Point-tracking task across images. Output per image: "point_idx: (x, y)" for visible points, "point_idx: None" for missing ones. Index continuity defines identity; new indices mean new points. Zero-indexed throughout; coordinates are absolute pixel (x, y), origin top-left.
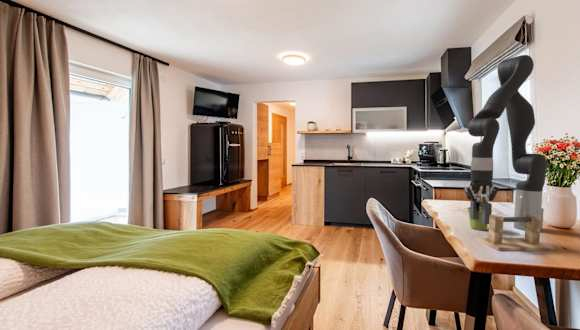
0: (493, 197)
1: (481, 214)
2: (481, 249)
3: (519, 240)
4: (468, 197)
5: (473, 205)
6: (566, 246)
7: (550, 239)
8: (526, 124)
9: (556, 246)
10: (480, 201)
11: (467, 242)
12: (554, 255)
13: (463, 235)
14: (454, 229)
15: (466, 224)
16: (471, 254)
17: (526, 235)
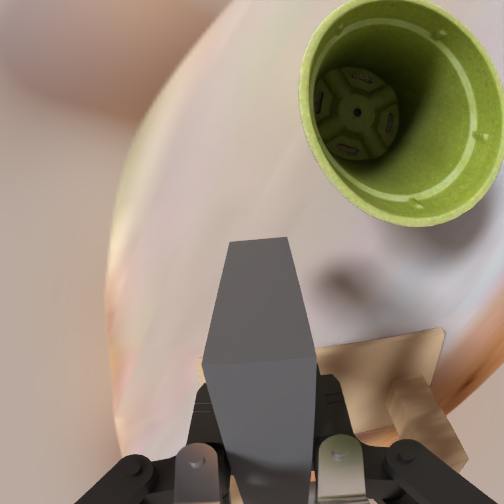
0: (410, 502)
1: (375, 199)
2: (168, 431)
3: (378, 376)
4: (109, 486)
5: (192, 418)
6: (490, 364)
7: None
8: None
9: (464, 373)
10: (273, 461)
11: (144, 378)
12: (371, 445)
13: (165, 283)
14: (164, 152)
15: (326, 13)
16: (124, 451)
17: (398, 404)
